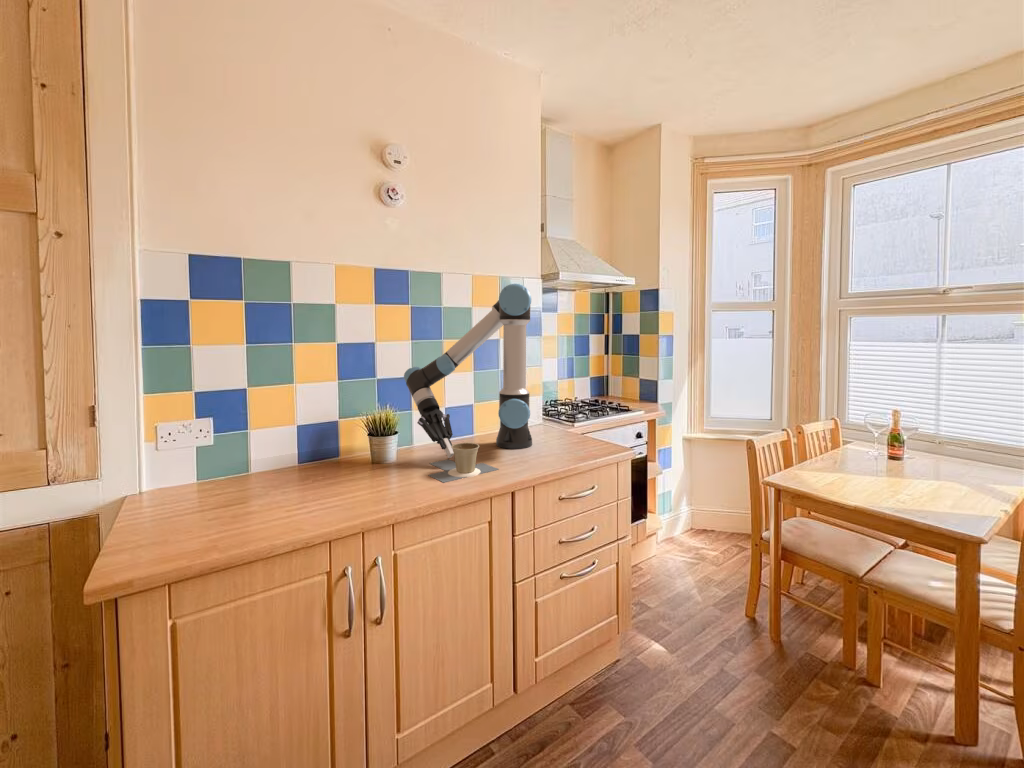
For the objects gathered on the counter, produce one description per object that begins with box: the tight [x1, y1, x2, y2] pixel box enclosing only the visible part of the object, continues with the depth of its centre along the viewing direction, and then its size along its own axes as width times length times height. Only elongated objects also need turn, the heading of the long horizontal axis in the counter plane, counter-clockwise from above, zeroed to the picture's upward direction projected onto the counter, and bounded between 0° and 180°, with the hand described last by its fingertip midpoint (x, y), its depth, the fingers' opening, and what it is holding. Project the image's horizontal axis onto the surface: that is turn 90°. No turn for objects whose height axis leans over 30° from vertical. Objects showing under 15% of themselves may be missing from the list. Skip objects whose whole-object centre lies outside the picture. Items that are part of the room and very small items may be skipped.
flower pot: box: [451, 442, 480, 473], centre depth 157 cm, size 9×9×9 cm
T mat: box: [427, 458, 500, 484], centre depth 161 cm, size 22×22×1 cm
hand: (451, 455), depth 163 cm, fingers closed
